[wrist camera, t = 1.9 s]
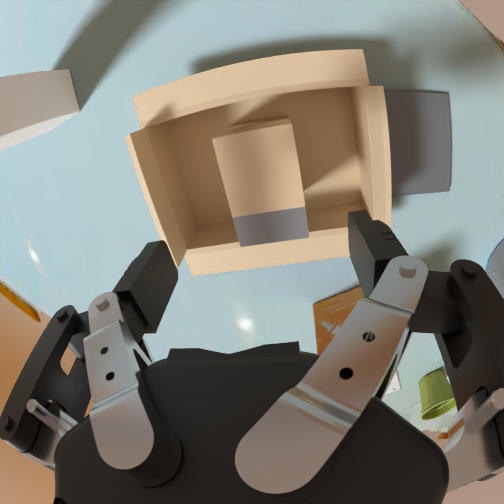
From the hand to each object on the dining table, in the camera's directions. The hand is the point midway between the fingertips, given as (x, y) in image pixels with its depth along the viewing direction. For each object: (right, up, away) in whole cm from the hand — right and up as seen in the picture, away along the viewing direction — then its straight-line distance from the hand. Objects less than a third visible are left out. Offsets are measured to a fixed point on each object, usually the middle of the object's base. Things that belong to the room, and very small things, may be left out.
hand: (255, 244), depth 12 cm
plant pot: (+39, -27, +34) cm, 58 cm away
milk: (-23, +18, +11) cm, 31 cm away
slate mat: (+16, +11, +11) cm, 23 cm away
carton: (+1, +9, +14) cm, 16 cm away
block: (+1, +9, +14) cm, 16 cm away
